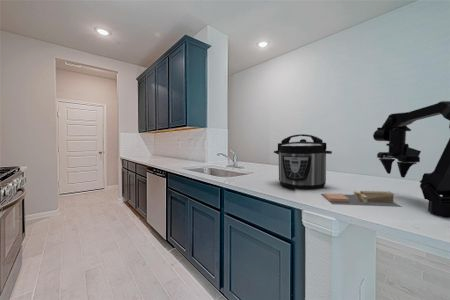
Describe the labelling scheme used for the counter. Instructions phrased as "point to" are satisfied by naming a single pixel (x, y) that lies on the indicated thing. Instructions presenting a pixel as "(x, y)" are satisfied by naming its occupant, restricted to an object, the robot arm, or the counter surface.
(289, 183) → the pressure cooker
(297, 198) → the counter surface
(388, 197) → the beech scraper
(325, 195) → the terracotta tile
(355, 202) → the charcoal mat
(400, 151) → the robot arm
